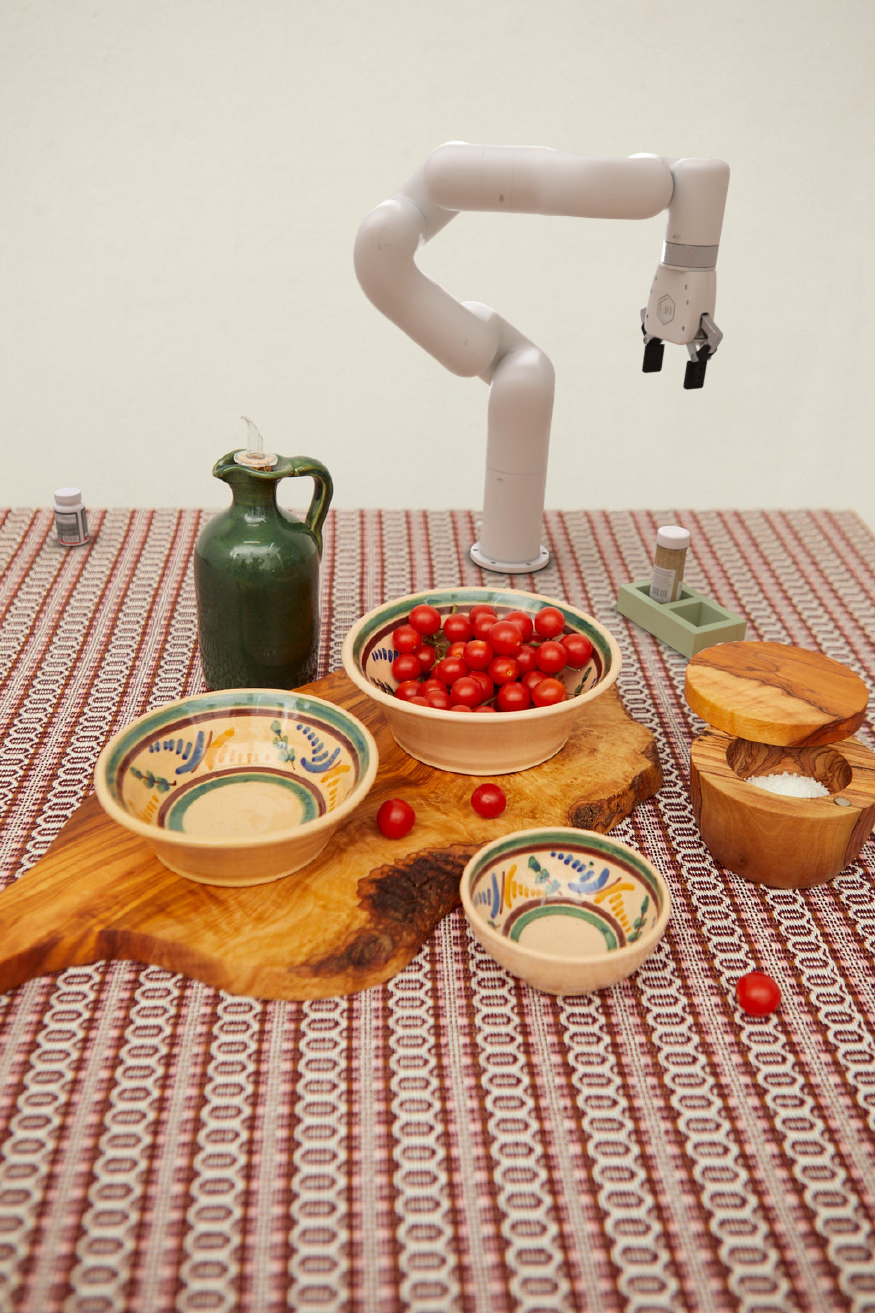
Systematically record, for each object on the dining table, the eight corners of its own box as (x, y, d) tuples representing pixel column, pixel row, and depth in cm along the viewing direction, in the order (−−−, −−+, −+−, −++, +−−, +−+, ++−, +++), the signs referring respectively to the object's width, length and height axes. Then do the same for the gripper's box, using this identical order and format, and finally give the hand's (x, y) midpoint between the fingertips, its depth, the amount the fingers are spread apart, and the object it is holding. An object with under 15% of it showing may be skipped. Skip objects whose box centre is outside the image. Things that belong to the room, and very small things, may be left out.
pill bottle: (76, 533, 178) (70, 484, 174) (95, 540, 176) (89, 490, 172) (52, 541, 175) (45, 491, 171) (71, 549, 172) (64, 498, 168)
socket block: (691, 660, 147) (695, 634, 145) (616, 610, 160) (619, 585, 158) (742, 647, 151) (747, 621, 149) (665, 599, 164) (669, 574, 162)
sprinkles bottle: (683, 619, 158) (698, 533, 152) (660, 626, 156) (674, 539, 150) (661, 607, 162) (674, 522, 155) (638, 614, 159) (651, 528, 153)
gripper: (630, 247, 156) (616, 367, 164) (708, 267, 143) (688, 397, 151) (672, 246, 159) (656, 364, 168) (752, 265, 146) (731, 393, 154)
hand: (671, 379), depth 159 cm, fingers open, 9 cm apart
